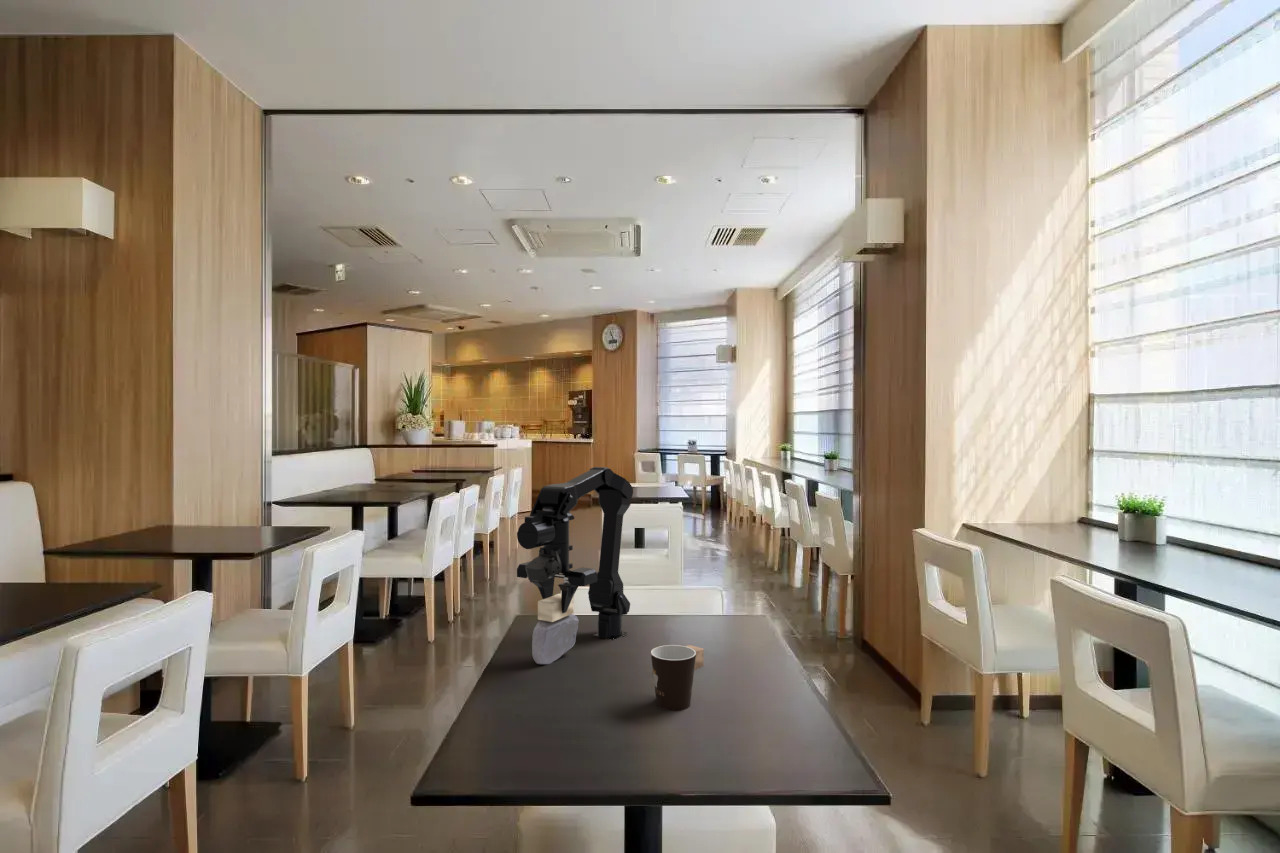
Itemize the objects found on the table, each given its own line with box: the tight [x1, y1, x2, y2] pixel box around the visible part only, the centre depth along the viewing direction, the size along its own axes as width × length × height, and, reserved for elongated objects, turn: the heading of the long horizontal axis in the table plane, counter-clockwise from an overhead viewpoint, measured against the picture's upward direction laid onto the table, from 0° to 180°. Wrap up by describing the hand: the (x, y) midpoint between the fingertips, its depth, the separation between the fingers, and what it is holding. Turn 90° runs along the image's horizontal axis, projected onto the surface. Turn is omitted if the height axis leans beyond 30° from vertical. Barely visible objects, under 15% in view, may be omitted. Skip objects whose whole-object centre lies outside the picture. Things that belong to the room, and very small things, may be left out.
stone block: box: [531, 613, 580, 665], centre depth 154 cm, size 12×5×10 cm, turn 143°
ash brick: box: [537, 593, 575, 622], centre depth 154 cm, size 8×4×4 cm, turn 150°
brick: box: [686, 644, 705, 671], centre depth 150 cm, size 8×4×4 cm, turn 139°
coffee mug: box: [650, 644, 696, 712], centre depth 132 cm, size 12×9×10 cm
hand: (556, 611), depth 154 cm, fingers closed on ash brick, 4 cm apart
